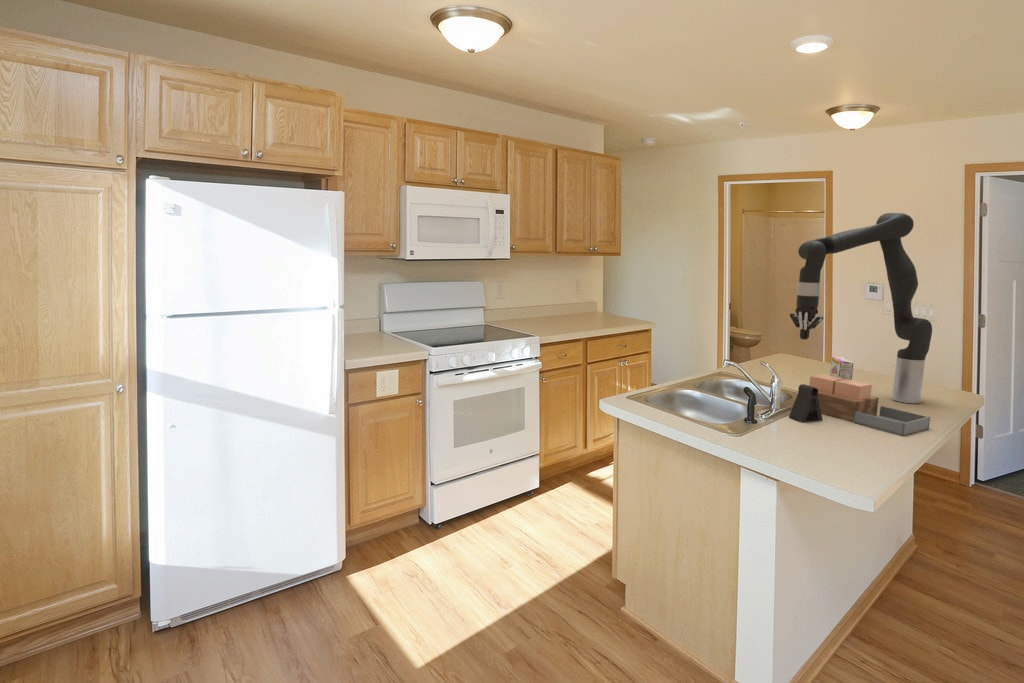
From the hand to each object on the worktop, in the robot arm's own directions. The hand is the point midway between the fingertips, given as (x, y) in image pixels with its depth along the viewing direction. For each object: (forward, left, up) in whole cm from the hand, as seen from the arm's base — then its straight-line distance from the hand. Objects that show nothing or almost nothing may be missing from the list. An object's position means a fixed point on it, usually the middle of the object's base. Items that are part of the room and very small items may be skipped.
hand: (804, 339), depth 223 cm
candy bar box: (-18, +5, -25) cm, 31 cm away
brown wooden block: (0, +16, -25) cm, 30 cm away
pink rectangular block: (0, +11, -18) cm, 21 cm away
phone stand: (+19, +16, -25) cm, 35 cm away
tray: (0, +34, -25) cm, 42 cm away
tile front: (0, +21, -18) cm, 27 cm away
